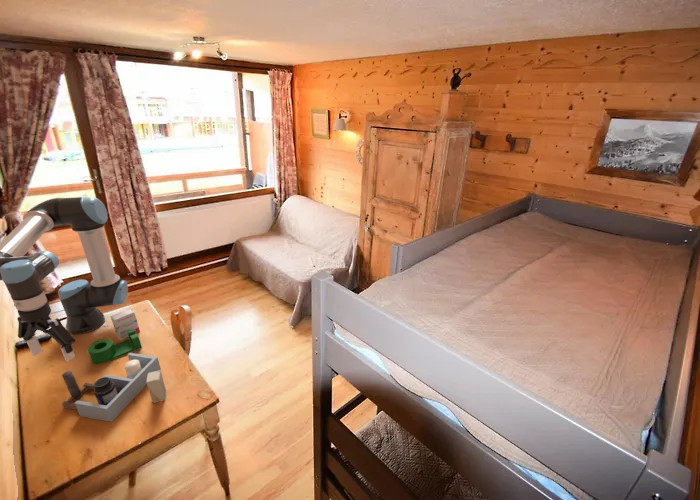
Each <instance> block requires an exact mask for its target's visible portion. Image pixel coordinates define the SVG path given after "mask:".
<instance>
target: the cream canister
mask: <svg viewBox="0 0 700 500" xmlns="http://www.w3.org/2000/svg"><path fill="white" fill-rule="evenodd" d="M124 369H125V372H126V375H127V378H130V379H133V378H134V377H135V376H136V375H137V374H138V373H139V372H140V371H141V370H142V369H143V368H141V366H140V362H139V360H131V361H130V360H129V361H127V362H125V364H124Z"/></svg>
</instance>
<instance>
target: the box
mask: <svg viewBox="0 0 700 500" xmlns="http://www.w3.org/2000/svg"><path fill="white" fill-rule="evenodd" d="M146 383H147V384H146V386H147V388H148V393H149V396H150V399H151V401H152V403H153V404H154V403H159V402H162V401H165V400H166V394H167V389H166V386H165V381H164V378H163V375H162V371H161V369H160V370H159V371H154V372H150V373H148V375H147V382H146Z"/></svg>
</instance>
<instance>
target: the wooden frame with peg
mask: <svg viewBox="0 0 700 500" xmlns="http://www.w3.org/2000/svg"><path fill="white" fill-rule="evenodd" d="M62 378H63V380H64V383H65V386H66V388H67V390H68V392H69V394H70V396H69V398H67V399H66V401H65V400H64V401H63V402H62V403H61V405H62V406H63V407H62V408H64V409H65V408H66V409H70V410H77V408H76V406H75V404H74V403H75V402H76V401H77V400H79V399H81V398H82V395H83V394H84V393H85V392H86V391H87V390H90V391H91V390H92V391H94V390H95V386H94V383H89V382H85V383H83V385H82V386H81V387H79V384H78V383H77V381H76V378H75V376H74V373H73V371H72V370H69V371H66V372H64V373H63V374H62ZM116 390H117V393H119V392H120V391H121V390H122V389H119V388H116ZM77 411H78V410H77Z"/></svg>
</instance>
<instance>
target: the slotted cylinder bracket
mask: <svg viewBox="0 0 700 500" xmlns="http://www.w3.org/2000/svg"><path fill="white" fill-rule="evenodd" d="M127 333H128V336H129V337H128V338H127V339H124V340H121V341H119V342H117V343H114V340H113V339H110V338H102V339H98V340H96V341H94V342H92V343H91V344H90V345H89V346H88V347H87V353H88V355H89V357H90V358H89V359H90V360H91V363H92V364H94V365H102V364H103V365H104V364H107V363H109V362H111V361H113V360H115V359H118V358H120V357H123V356H126V355H128V354H129V353H133V352H135V351H136V350H139V349H142V348H143V347H142V344H141V340H140V336H139V335H138V334H137V333H135V330H134V329H131V330H128V331H127Z"/></svg>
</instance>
